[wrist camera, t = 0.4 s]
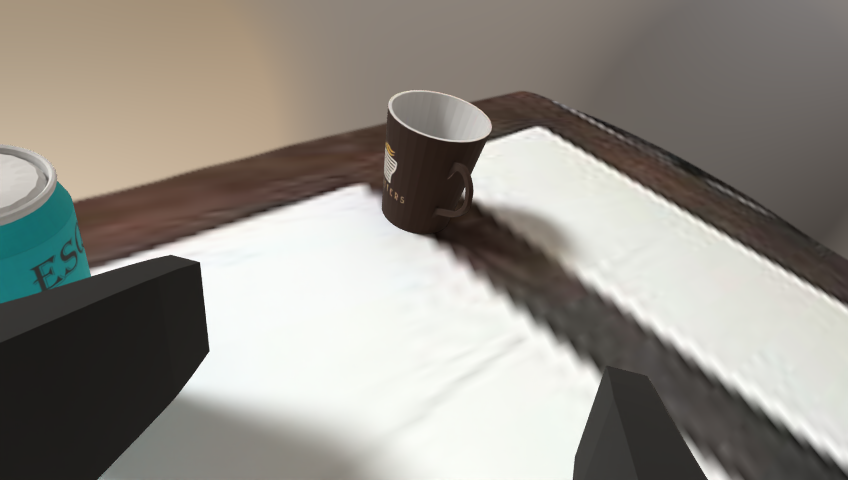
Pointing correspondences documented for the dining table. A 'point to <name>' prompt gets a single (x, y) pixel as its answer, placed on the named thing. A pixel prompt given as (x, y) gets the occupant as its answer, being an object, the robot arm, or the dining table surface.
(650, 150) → the dining table surface
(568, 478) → the dining table surface
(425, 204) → the coffee mug
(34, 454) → the robot arm
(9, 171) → the beverage can
